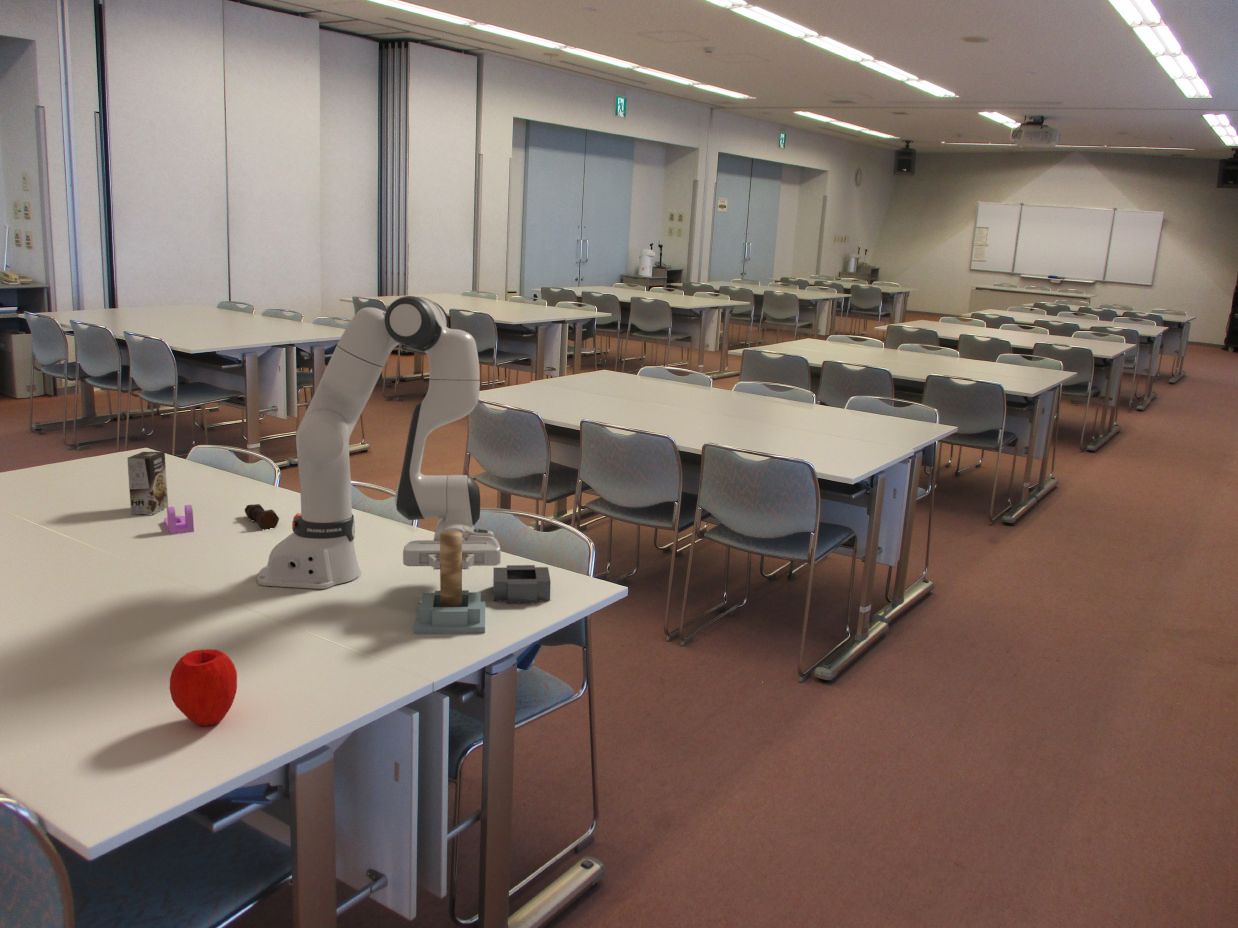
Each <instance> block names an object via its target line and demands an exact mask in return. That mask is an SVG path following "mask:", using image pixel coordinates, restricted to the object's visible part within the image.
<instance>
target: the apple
mask: <svg viewBox="0 0 1238 928" xmlns="http://www.w3.org/2000/svg"><path fill="white" fill-rule="evenodd" d="M237 672H238V671H237V669H236V666H235V663H234V662H233V661H232V659H231V658H230V657H229V656H228V655H227V654H226V653H225V652H223V651H221V650H218V649H214V648H213V649H196V650H192V651H189V652H186V653H185V654H184V655H182V657H180V658H179V660H178V661H177V662H176V664H175V665H174V667H173V668H172V670H171V673H170V677H169V691H170V693H169V694H170V696H171V701H173V703H174V705H175V707H176V708H177V709H178V710H179V711H180V712H181V713H182V714H183V715H184V716H185V717H186V718H187V719H188V720H189V721H191V722H192V723H193V724H196V725H198V726H202V727H203V726H204V727H206V726H211V725H215V724H219V722H221V721H223V720H224V718H225V717H226V715H227V714H228V712H229V711H230V710H231V707H232V706H233V703H234V701H235V698H236V693H237V689H238V673H237Z"/></svg>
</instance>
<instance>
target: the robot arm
mask: <svg viewBox="0 0 1238 928" xmlns="http://www.w3.org/2000/svg"><path fill="white" fill-rule="evenodd" d="M449 326H450V325H449V318H448V315H447V313H446V311H445V310H444V308H443V307H442V306H441V305H440V304H439V303H436V302H435V301H432V300H431V299H429V298H427V297H424V296H423V297H422V296H415V295H405V296H401V297H399V298H397V299H395V300H394V301H393V302H391V303H390V304H389V306H388V307H387V309H386V311H385V310H382V309H380V308H376V307H373V306H372V307H363V308H360V309H359V310H358V311H357V312H356V313H355V314H354V315H353V317H352V319H351V320H350V321H349V323H348V324H347V326H346V328H345V329H344V330H343V333H342V335H341V337H340V339H339V340H338V342H337V345H336V347H335V349H334V351H333V353H332V355H331V358H330V359H329V361H328V363H327V366H326V368H325V370H324V372H323V375H322V376H321V378H320V381H319V383H318V385H317V387H316V390H315V392H314V394H313V396H312V398H311V401H310V403H309V404H308V407H307V408H306V410H305V414H304V416H303V417H302V420H301V421H300V423H299V426H298V427H297V430H296V433H295V443H296V445H295V446H296V456H297V459H296V460H297V467H298V476H299V477H298V478H299V487H300V489H299V490H300V510H301V511H300V512H301V513H300V512H297V513H295V515H294V516H293V518H292V524H291V528H292V533H291V534H289V535H288V536H286V537H285V538H284V539H283V540H281V541H280V542H279V543H277V544H276V545H275V546H274V547H273V548H272V550H271V551H270V553H269V556H268V561H267V564H266V565H265V566H264V567H262V568H261V569H260V570H259V572H258V574H257V579H256V581H257V583H258V585H260V586H265V587H267V586H268V587H270V586H271V587H281V588H282V587H283V588H297V589H298V588H300V589H301V588H302V589H319V590H322V589H323V590H325V589H328V588H330V587H333V586H335V585H339V584H344V583H348V582H350V581H353V580H356V579H357V578H358V577H360V575H361V572H362V571H361V570H360V567H359V563H358V560H357V554H356V550H355V543H354V539H355V536H356V531H355V530H356V529H355V528H356V527H355V515H354V514H353V513H352V511H353V510H352V509H353V507H352V504H353V503H352V478H351V464H350V463H351V461H350V437H351V436H352V433H353V431H354V428H355V427H356V424H357V422H358V421H359V419H360V416H361V415H362V413H363V410H364V409H365V406H366V405H367V403H368V402H369V399H370V397H371V396H372V393H373V391H374V389H375V387H376V385H377V382H378V381H379V379H380V375H381V374H382V372H383V370H384V368H385V366H386V363H387V362H388V360H389V359H388V358H389V357H390V355H391V353H392V351H393V350H394V349H395V348H396V347H398V346H399V345H401V346H404V347H406V348H407V347H408V348H410V349H411V348H412V349H414V350H417V351H420V352H424V354H426V356H427V358H428V359H427V360H428V365H429V367H428V368H429V371H428V372H429V377H428V379H429V380H428V381H429V382H428V389H427V392H426V394H425V397H424V398H423V400H422V401H420V402H418V403H416V405H415V407H414V409H413V412H412V415H411V419H410V424H409V429H408V432H407V433H408V434H407V441H406V443H405V444H406V445H405V451H404V458H403V463H402V468H401V473H400V478H399V480H398V484H397V486H396V490H395V494H394V502H395V507H396V508H395V509H396V511H397V512H398V513H399V514H400V515H401V516H402V517H404V518H405V519H407V520H408V521H417V520H426V519H439V520H438V521H437V524H436V527H435V530H434V536H433V539H432V540H430V539H429V540H427V539H426V540H423V539H422V540H419V539H418V540H411V541H408V543H406V545H404V547H403V549H402V563H403V565H404V566H406V567H432V568H433V570H434V571H435V570H440V569H441V567H440V565H441V562H440V533H442V532H445V531H458V532H461V533H462V562H461V565H462V566H461V569H462V570H469V569H470V567H473V566H474V567H481V566H482V567H484V566H486V567H488V566H491V567H495V566H499V565H500V564H501V546H500V543H499V540H498V539H497V538H496V537H495V535H494V532H493V531H491V530H487V529H480V528H475V527H474V526H475V525H476V524H477V523H478V522H479V519H480V518H481V517H480V516H481V491H480V487H479V485H478V483H477V481H475V479H474V478H473V477H472V476H470V475H467V474H448V475H447V474H446V475H442V474H441V475H439V474H438V475H435V474H431V475H430V474H427V475H426V474H423V473H422V472H421V470H422V462H423V461H422V460H423V456H424V451H425V446H426V440H427V438H428V436H429V435H430V434H431V433H432V432H433V431H434V430H437V429H439V428H440V427H442V426H445V425H448V424H450V423H453V422H456V421H458V420H461V419H463V418H465V417H467V416H468V415H469V414H471V413H472V412H473V411H474V410H475V408H476V407H477V405H478V403H479V397H480V385H481V380H480V379H481V377H480V376H481V375H480V373H481V371H480V362H479V353H478V348H477V341H476V339H475V338H474V337H473V335H472V334H471V333H469V332H467V331H465V330H463V329H458V328H449Z"/></svg>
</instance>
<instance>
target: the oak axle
mask: <svg viewBox="0 0 1238 928" xmlns="http://www.w3.org/2000/svg"><path fill="white" fill-rule="evenodd" d="M440 562H441V565H440V567H441V569H439V572H440V573H439V574H440V575H439V576H440V579H439V581H440V583H439V585H440V586H439V587H440V589H439V591H440V607H462V590H463V569H461V566H462V565H461V562H462V533H461V532H458V531H445V532H442V533H440Z"/></svg>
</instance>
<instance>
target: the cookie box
mask: <svg viewBox="0 0 1238 928" xmlns="http://www.w3.org/2000/svg"><path fill="white" fill-rule="evenodd" d="M166 466H167V465H166V452H165V451H141V452H139V453H137V454H133V455H130V456H129V457H127V470H128V471H127V473H128V486H129V487H128V489H129V500H130V501H129V503H130V514H131V515H140V514H148V515H147V516H150V515H149V514H154V515H156V514H158V513H159V511H160V510H161V511H163V510H165V509H167V508H166V507H169V498H168V482H167V469H166ZM164 508H165V509H164ZM162 509H163V510H162ZM161 511H160V512H161ZM157 512H158V513H157ZM155 513H156V514H155Z"/></svg>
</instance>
